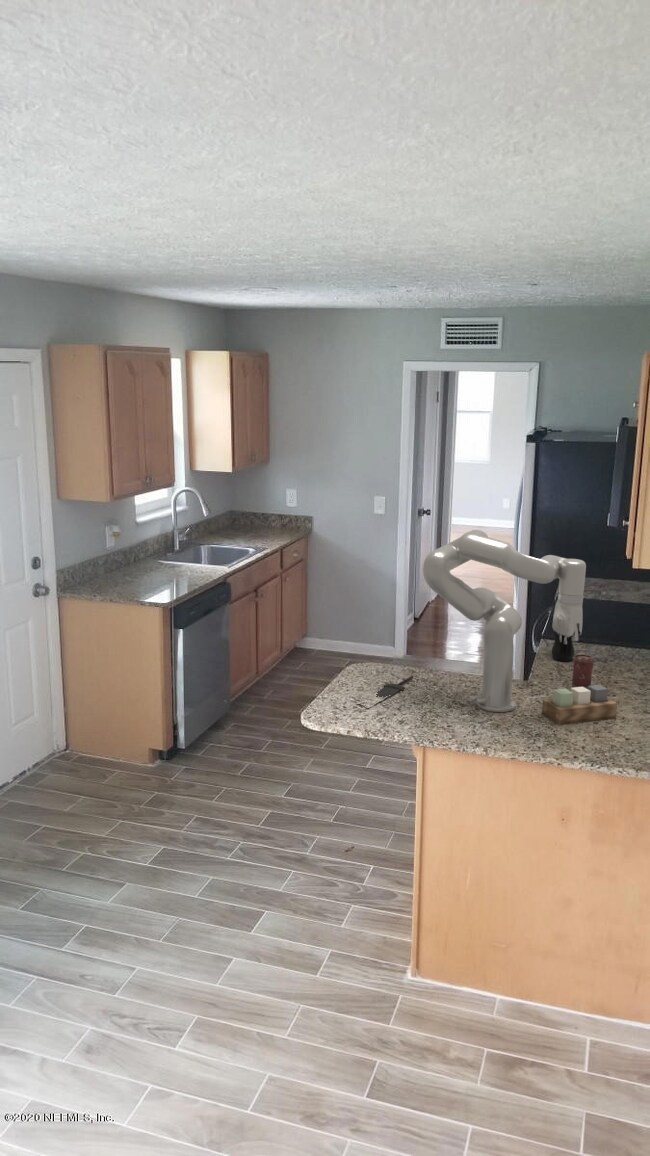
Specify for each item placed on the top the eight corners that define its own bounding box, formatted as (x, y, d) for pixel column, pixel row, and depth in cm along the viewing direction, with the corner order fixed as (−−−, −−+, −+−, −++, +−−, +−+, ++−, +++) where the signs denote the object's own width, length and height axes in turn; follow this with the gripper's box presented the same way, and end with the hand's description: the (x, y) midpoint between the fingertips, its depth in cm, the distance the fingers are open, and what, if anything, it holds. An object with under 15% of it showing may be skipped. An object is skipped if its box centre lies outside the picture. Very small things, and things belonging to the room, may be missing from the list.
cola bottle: (576, 658, 344) (582, 583, 337) (569, 663, 337) (575, 587, 330) (555, 654, 348) (560, 580, 342) (548, 660, 341) (553, 584, 335)
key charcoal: (594, 711, 282) (596, 690, 280) (586, 706, 286) (588, 685, 284) (606, 709, 283) (607, 689, 282) (597, 705, 287) (599, 684, 286)
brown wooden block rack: (559, 725, 275) (560, 710, 274) (541, 714, 284) (542, 699, 283) (615, 717, 282) (617, 703, 280) (596, 707, 291) (598, 692, 290)
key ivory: (577, 713, 280) (578, 692, 278) (569, 708, 284) (570, 687, 282) (589, 711, 281) (590, 691, 280) (580, 707, 285) (582, 686, 284)
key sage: (559, 715, 278) (561, 694, 276) (551, 710, 282) (553, 689, 280) (571, 713, 279) (573, 693, 277) (563, 709, 283) (565, 688, 282)
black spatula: (351, 708, 290) (351, 702, 290) (403, 677, 318) (403, 672, 318) (369, 712, 286) (369, 706, 285) (421, 681, 314) (421, 675, 313)
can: (591, 699, 298) (594, 660, 295) (571, 698, 299) (575, 658, 296) (589, 693, 304) (592, 654, 301) (570, 692, 305) (573, 653, 302)
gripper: (546, 593, 279) (542, 648, 283) (573, 605, 265) (568, 663, 269) (567, 592, 282) (562, 647, 286) (594, 604, 268) (589, 661, 272)
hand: (565, 654), depth 278 cm, fingers closed
